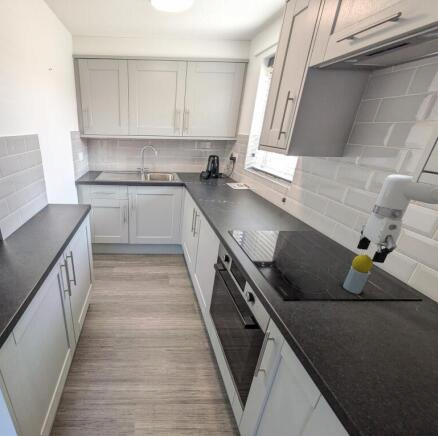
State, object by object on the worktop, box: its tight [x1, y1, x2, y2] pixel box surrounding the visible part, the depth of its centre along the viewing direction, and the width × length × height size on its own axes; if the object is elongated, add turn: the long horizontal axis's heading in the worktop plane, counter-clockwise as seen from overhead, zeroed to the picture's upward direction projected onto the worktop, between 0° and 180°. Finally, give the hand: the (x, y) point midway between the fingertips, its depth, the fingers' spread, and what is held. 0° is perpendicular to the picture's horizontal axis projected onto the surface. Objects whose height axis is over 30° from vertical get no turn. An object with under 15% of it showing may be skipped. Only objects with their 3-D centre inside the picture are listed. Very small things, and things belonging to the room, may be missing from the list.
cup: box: [342, 265, 371, 295], centre depth 89 cm, size 6×6×9 cm
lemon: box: [351, 254, 374, 273], centre depth 86 cm, size 6×6×8 cm
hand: (369, 255), depth 85 cm, fingers open, 9 cm apart
